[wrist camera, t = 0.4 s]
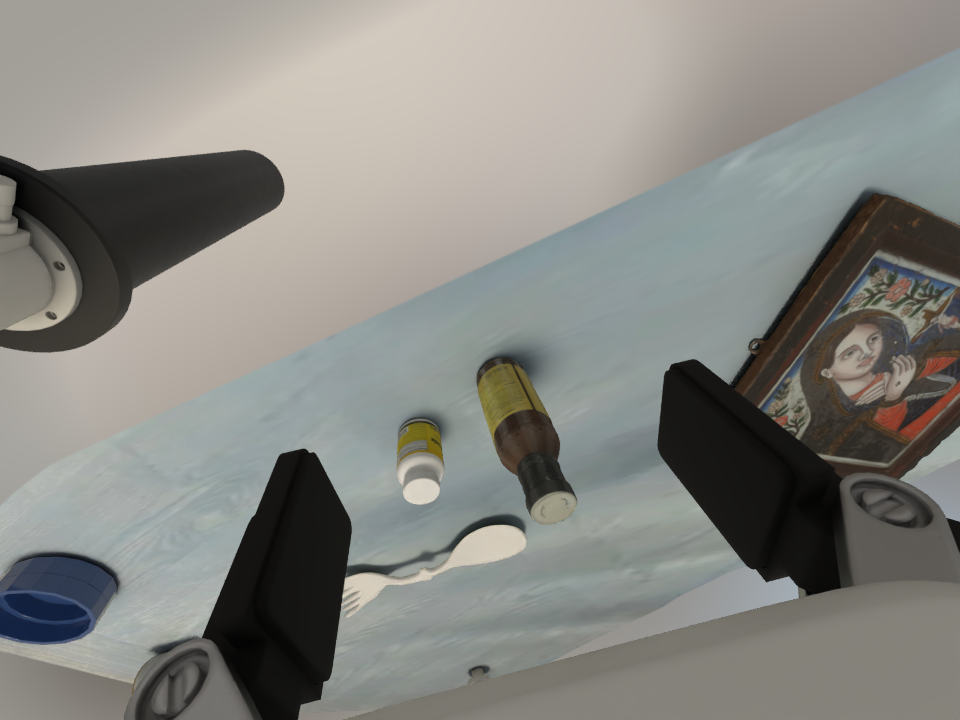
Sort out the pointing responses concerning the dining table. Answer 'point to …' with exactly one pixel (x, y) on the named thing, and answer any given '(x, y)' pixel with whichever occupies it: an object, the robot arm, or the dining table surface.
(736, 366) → the dining table surface
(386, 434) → the dining table surface
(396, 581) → the cream back scratcher
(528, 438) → the sauce bottle
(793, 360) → the religious icon
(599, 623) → the dining table surface
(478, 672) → the screw
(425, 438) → the supplement bottle
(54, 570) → the bowl
